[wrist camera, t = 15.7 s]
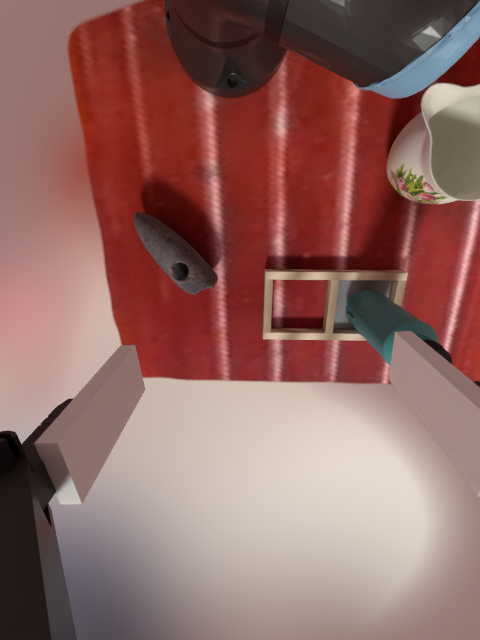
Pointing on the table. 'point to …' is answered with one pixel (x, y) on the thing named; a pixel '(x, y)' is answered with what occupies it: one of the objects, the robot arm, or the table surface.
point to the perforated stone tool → (174, 255)
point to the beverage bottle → (387, 323)
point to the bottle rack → (332, 299)
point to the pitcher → (439, 148)
